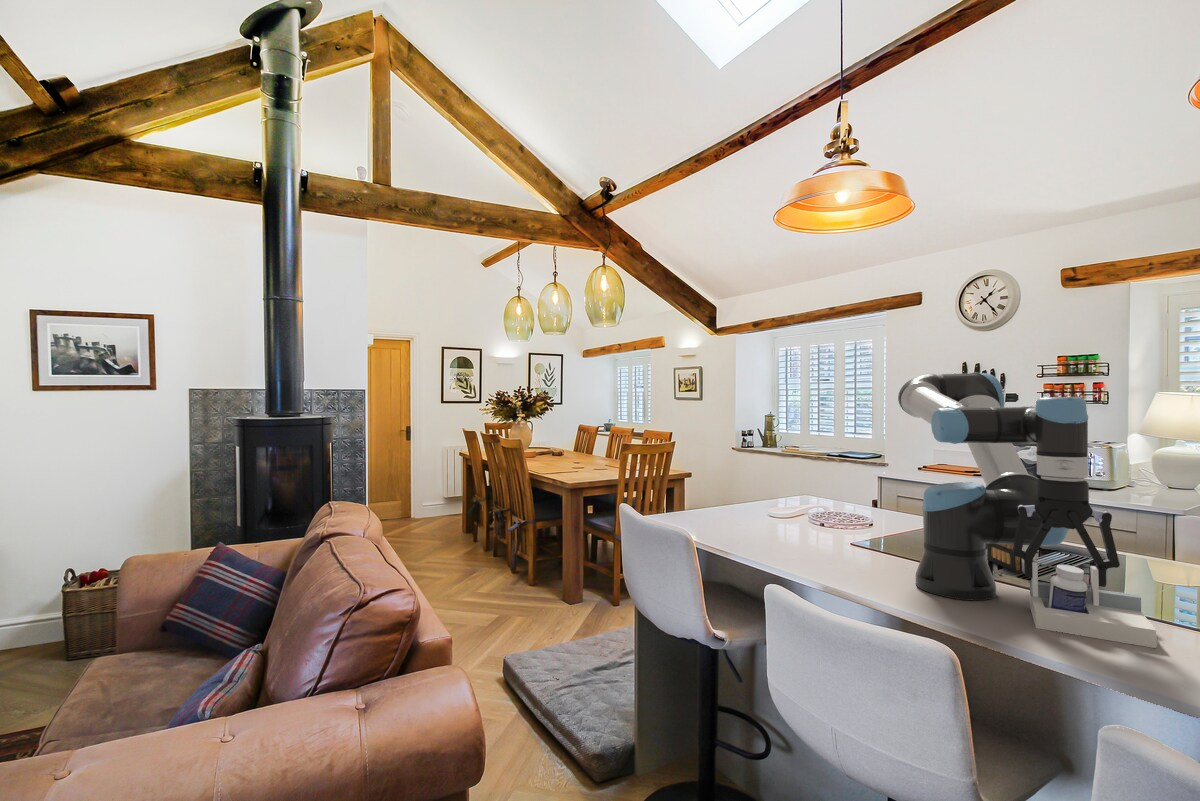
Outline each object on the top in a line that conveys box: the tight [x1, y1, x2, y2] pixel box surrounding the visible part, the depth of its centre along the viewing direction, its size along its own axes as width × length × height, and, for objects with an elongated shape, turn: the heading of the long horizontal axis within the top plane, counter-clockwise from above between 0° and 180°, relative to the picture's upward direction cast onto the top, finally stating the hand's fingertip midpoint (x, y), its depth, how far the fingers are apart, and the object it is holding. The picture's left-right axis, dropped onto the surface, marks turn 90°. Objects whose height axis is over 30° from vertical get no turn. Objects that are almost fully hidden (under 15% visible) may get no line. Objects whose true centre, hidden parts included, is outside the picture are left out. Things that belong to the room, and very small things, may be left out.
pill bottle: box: [1047, 564, 1088, 613], centre depth 105 cm, size 5×5×10 cm
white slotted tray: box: [1029, 580, 1157, 649], centre depth 103 cm, size 16×12×6 cm
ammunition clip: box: [986, 544, 1023, 573], centre depth 142 cm, size 11×2×12 cm, turn 177°
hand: (1064, 598), depth 106 cm, fingers open, 8 cm apart
